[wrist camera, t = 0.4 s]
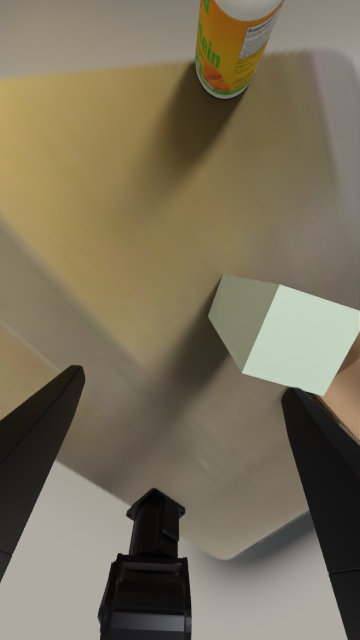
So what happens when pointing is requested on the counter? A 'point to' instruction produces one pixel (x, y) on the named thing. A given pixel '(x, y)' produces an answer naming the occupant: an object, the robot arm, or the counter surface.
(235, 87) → the supplement bottle
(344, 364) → the tan block
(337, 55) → the counter surface
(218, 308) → the sage block
